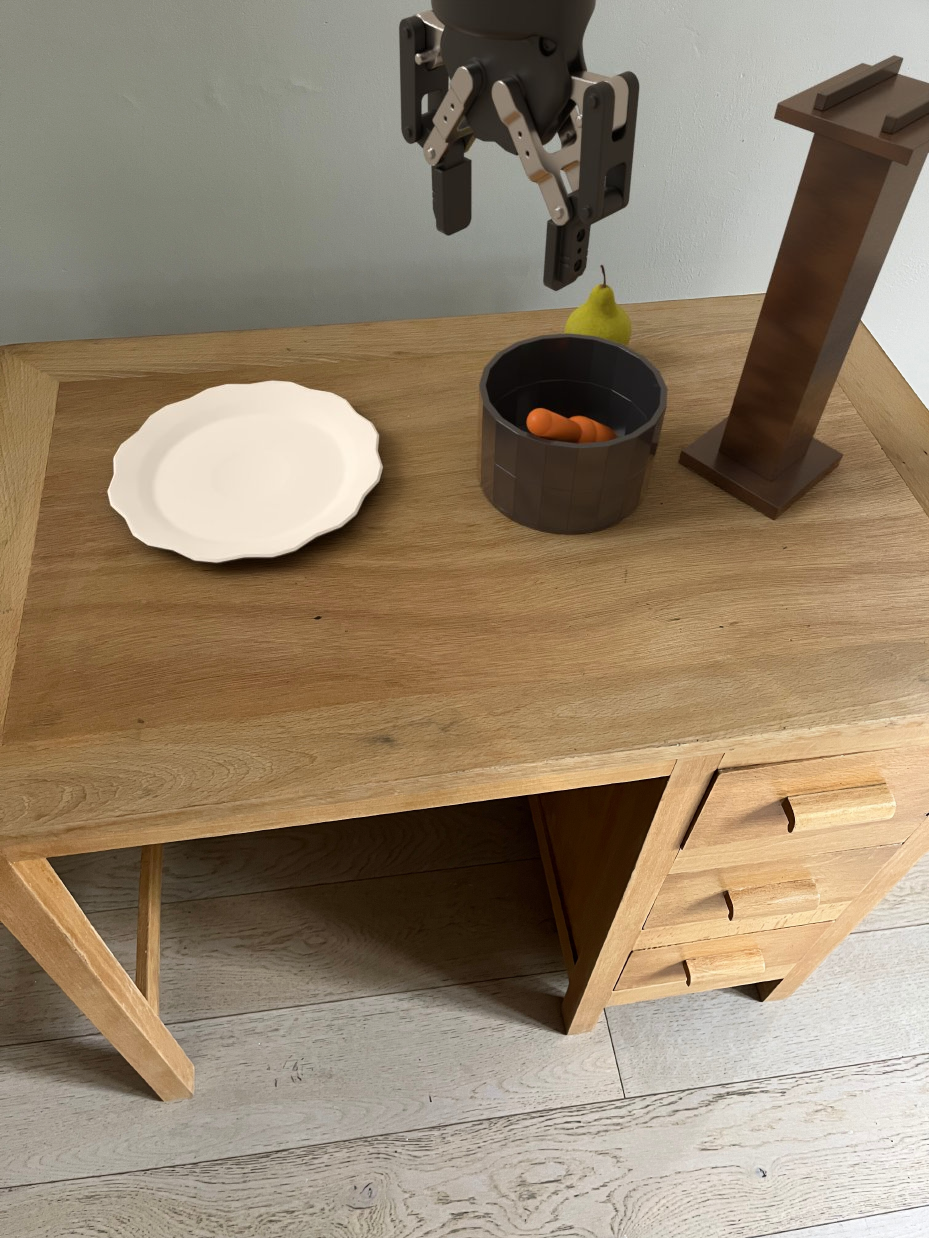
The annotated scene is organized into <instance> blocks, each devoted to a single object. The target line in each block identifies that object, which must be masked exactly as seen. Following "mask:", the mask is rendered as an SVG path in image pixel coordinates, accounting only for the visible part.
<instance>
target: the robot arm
mask: <svg viewBox="0 0 929 1238" xmlns="http://www.w3.org/2000/svg"><path fill="white" fill-rule="evenodd" d="M430 4H431V10H429V9H428V10H425V11H421V12H419V13H415V14H413V15H411V16H408V17H404V18H402V19H401V20H400V21H399V25H398V40H399V41H398V43H399V45H398V46H399V47H398V49H399V85H400V86H399V88H400V93H399V94H400V129H401V130H400V131H401V135H402V138H403V139H404V140H405V142H406V143H407V144H410V145H413V144H415V143H417V145H419V147H421V148H422V152H423V157H424V159H425V161H426V162H427V164H428V165H430V169H431V170H430V171H431V191H432V192H431V197H432V211H433V212H432V213H433V215H434V219H435V228H436V230H437V232H439V233H440V234H444V235H445V236H448V237H449V236H452V235H455V234H456V233H458V232H461V231H462V230H465V229H467V228H468V227H469V226H470V224H471V222H472V218H473V217H472V215H473V214H472V213H473V212H472V211H473V210H472V209H473V207H472V205H473V204H472V203H473V198H472V197H473V196H472V194H473V193H472V191H473V190H472V189H473V187H472V186H473V185H472V181H473V180H472V178H473V177H472V175H473V174H472V170H473V169H472V167H473V166H472V165H473V163H472V162H473V161H472V159H470V158H468V157H466V156H465V154H467V153H468V152H469V151H470V150H471V147H472V146H473V144H474V143H475V141H476V140H479V141H481V142H485V143H486V142H487V143H495V144H497V145H498V146H499V147H500V148H501V149H503V150H504V151H505V152H507V153H509V154H512V155H514V156H517V157H518V158H519V160H520V162H521V166H522V168H523V170H524V173H525V175H526V176H527V177H526V178H527V179H528V180H529V181H530V182H533V183H534V184H535V183H536V184H537V185H538V188H539V190H540V194H541V195H542V198H543V201H544V203H545V206H546V208H547V211H548V213H549V216H550V219H548V220H547V221H546V235H545V249H544V261H543V262H544V264H543V277H542V284H543V285H544V286H545V287H546V288H548V289H550V290H552V291H554V292H558V291H560V290H562V289H564V288H566V287H568V286H569V285H571V284H573V283H575V282H576V281H577V280H578V278H579V277H581V276H583V275H584V273H585V270H586V269H587V264H588V254H589V246H590V237H591V229H592V228H591V227H592V225H593V224H595V223H598V222H601V221H602V220H603V219H606V218H607V217H609V216H612V215H614V214H615V213H618V212H619V211H621V210H623V209H625V208H626V207H628V205H629V202H630V195H631V185H632V173H633V161H634V153H635V152H634V151H635V143H636V141H635V139H636V129H637V121H638V120H637V119H638V108H639V100H640V99H639V98H640V80H639V78H638V77H637V75H636V74H635V73H634V72H633V71H630V70H626V71H624V72H621V73H619V74H617V75H614V76H611V77H610V76H607V75H603V74H598V73H594V72H591V71H588V67H587V63H586V59H585V53H584V37H585V33H586V30H587V28H588V25H589V23H590V20H591V18H592V16H593V14H594V12H595V8H596V5H597V0H430ZM426 95H427V111H426V112H424V113H423V108H422V107H423V105H422V103H423V102H422V101H423V98H424V97H425V96H426ZM576 107H577V108H578V111H577V108H576ZM578 112H579V113H578ZM556 135H558V138H559V141H560V149H559V150H556V151H554V152H548V151H547V150H545V148H544V147H543V146H546V145H548V144H549V143H550V142H551V141H552V140H553V139H554V137H555V136H556ZM561 171H563V172H564V174H565V176H566V179H567V182H568V184H569V187H570V189H571V192H568V190H567V188H566V184H565V181H564V179H563V177H562V174H561Z"/></svg>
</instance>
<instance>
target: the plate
mask: <svg viewBox="0 0 929 1238" xmlns="http://www.w3.org/2000/svg"><path fill="white" fill-rule="evenodd" d="M379 442H380V433H379V432H378V430H377V429H376V427H375V425H374V423H373V422H372V421H370V420H368V419H367V418H366V417H364V416H362V415H361V414H359V413H358V412H357V411H356V410H355V409H354V408H353V406H352V405H351V404H350V403H349V401H348V400H347V399H346V398H344V397H342V396H339V395H337V394H336V393H333V392H330V391H324V390H318V389H312V388H308V387H306V386H303V385H301V384H298V383H296V382H293V381H283V380H266V381H261V382H254V383H226V384H225V383H224V384H222V385H217V386H214V387H208V388H206V389H204V390H202V391H201V392H199V393H197V394H195V395H193V396H191V397H189V398H186V399H183V400H180V401H176V402H174V403H170V404H167V405H165V406H163V407H161V408H160V409H159V410H157V411H155V412H154V413H152V414H151V415H149V417H147V419H146V420H145V422H144V423H143V424H142V425H141V426H140V428H139V429H138V430H137V431H136V432H135V433H134V434H132V435H131V436H130V437H128V439H126V440H125V441H123V442H122V443H121V444H120V445H119V448H118V449H117V451H116V453H115V454H114V456H113V462H112V463H113V476H112V478H111V481H110V483H109V486H108V489H107V491H106V493H107V496H108V500H109V504H110V507H111V508H112V509H113V510H114V511H115V512H116V513H118V514H119V515H120V517H122V518H123V519H124V520H125V522H126V524H127V526H128V528H129V530H130V532H131V534H132V537H134V538H135V539H136V540H138V541H139V542H141V543H143V544H144V545H145V546H147V547H148V548H155V549H159V550H164V551H169V552H173V553H176V554H178V555H180V556H182V557H185V558H186V559H189V560H190V561H192V562H194V563H205V564H216V565H219V564H223V563H229V562H235V561H239V560H240V561H241V560H244V559H276V558H279V557H283V556H286V555H289V554H293V553H296V552H297V551H299V550H300V549H303V548H304V547H305V546H307V545H308V544H310V543H311V542H314V541H315V540H316V539H318V538H320V537H323V536H326V535H328V534H331V533H332V532H335V531H338V530H341V529H343V528H344V527H345V526H346V525H347V524H349V523H350V522H351V521H352V520H353V519H355V517H357V515H358V514H359V511H360V509H361V507H362V505H363V503H364V500H365V499H366V497H367V496H368V495H370V493H371V492H372V491H373V490H374V489H375V488H376V487H377V486H378V485H379V483H380V481H381V477H382V473H383V470H384V466H383V463H382V459H381V457H380V454H379V444H380V443H379Z"/></svg>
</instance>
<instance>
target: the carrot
mask: <svg viewBox="0 0 929 1238" xmlns="http://www.w3.org/2000/svg"><path fill="white" fill-rule="evenodd" d="M527 427H528V429H529V431H530V432H531V433H533V434H534V435H537V436H540V437H542V438H545V439H548V440H552V441H561V442H569V443H577V444H580V443H592V442H604V441H609V440H613V439H616V438H619V436H617V435H616V433H615V432H614V431H613V430H612V429H611V428H609V427H607V426H605V425H603V424H600V423H598V422H596V421H594V420H591V419H589V418H587V417H583V416H575V417H571V418H569V419H568V418H565V417H563V416H561V415H558V414H556V413H553V412H551V411H549V410H546V409H543V408H538V409H535V410H533V411H532V412H530V414H529V415H528V417H527Z"/></svg>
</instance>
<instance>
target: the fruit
mask: <svg viewBox="0 0 929 1238" xmlns="http://www.w3.org/2000/svg"><path fill="white" fill-rule="evenodd" d="M600 268H601V273H602V276H603V283H599V284H596V285H595V286H594V287H593V288H592V289H591V291H590V293H589V296H588V298H587V300H586V301H585V302H584V303H582V304H581V305H579V306H578V307H577V308H576V309H574V310H573V311H572V312H571V313H570V315H569V316H568V318H567V320H566V322H565V326H564V329H563V330H564V332H563V334H566V333H568V334H569V333H571V334H580V335H589V336H596V337H600V338H604V339H607V340H610V341H614V342H617V343H620V344H623V345H625V346H627V347H628V345H629V342H630V340H631V336H632V330H633V329H632V323H631V319H630V316H629V315H628V313H627V311H626V310H625V309H624V308H623V307H622V306H620V305H619V304H618V303H617V302H616V300H615V299H616V298H615V293H614V290H613V288H612V287H611V286H610V285H608V284H607V280H606V278H607V277H606V270H605V267H604V265H603V264H600Z"/></svg>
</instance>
